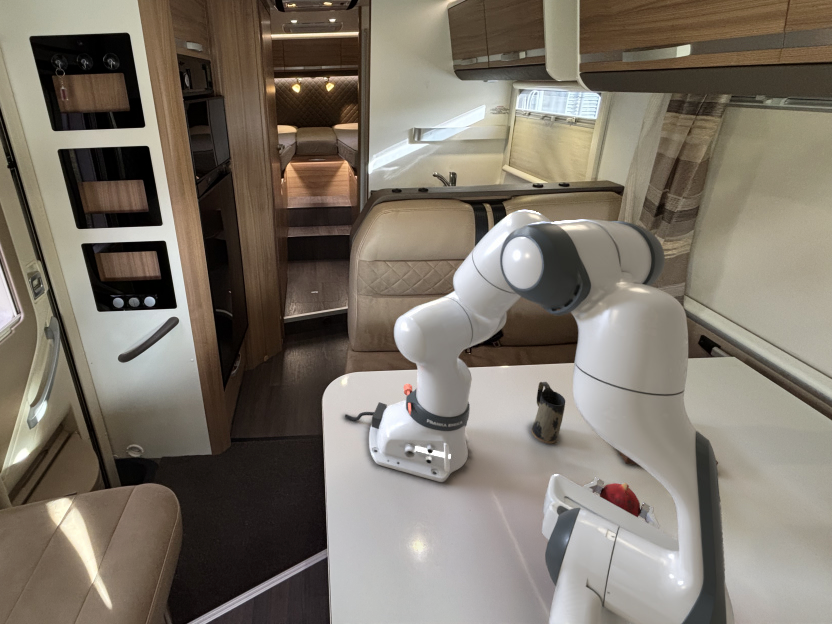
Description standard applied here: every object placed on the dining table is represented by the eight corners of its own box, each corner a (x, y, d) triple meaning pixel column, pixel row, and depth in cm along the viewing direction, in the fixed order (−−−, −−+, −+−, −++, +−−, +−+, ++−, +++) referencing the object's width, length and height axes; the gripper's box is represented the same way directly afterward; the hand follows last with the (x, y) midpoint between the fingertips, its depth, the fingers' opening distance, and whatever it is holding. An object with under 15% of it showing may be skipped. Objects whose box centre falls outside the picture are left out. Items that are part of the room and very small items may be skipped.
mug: (562, 443, 99) (573, 403, 95) (539, 444, 99) (549, 404, 94) (544, 417, 106) (553, 379, 102) (522, 418, 106) (531, 380, 102)
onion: (639, 537, 72) (654, 505, 69) (602, 530, 73) (614, 498, 70) (624, 505, 77) (637, 473, 74) (589, 499, 78) (600, 467, 75)
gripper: (701, 598, 56) (706, 522, 66) (538, 500, 69) (562, 448, 79) (685, 625, 59) (692, 548, 68) (531, 526, 72) (555, 472, 81)
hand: (622, 494), depth 74 cm, fingers closed on onion, 6 cm apart
